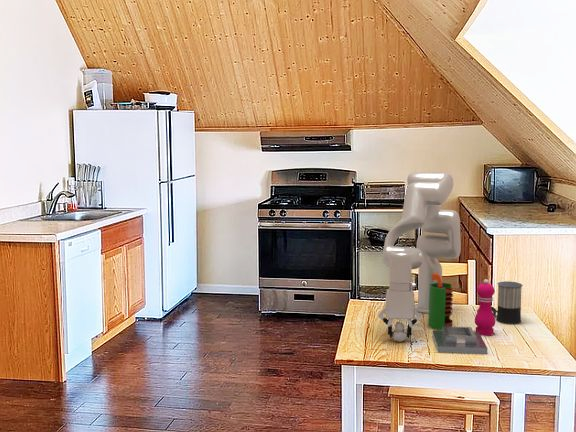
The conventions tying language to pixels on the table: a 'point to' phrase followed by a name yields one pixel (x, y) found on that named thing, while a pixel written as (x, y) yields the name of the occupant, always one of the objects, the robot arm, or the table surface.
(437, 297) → the green round disc holder
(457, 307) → the table surface
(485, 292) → the pepper mill
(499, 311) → the milk frother
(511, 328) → the table surface
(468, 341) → the plate
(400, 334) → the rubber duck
